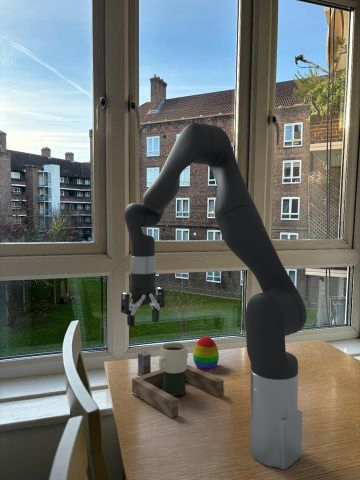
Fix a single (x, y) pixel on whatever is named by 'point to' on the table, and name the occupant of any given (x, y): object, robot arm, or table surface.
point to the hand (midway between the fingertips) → (143, 324)
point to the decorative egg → (205, 354)
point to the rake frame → (150, 382)
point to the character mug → (173, 367)
